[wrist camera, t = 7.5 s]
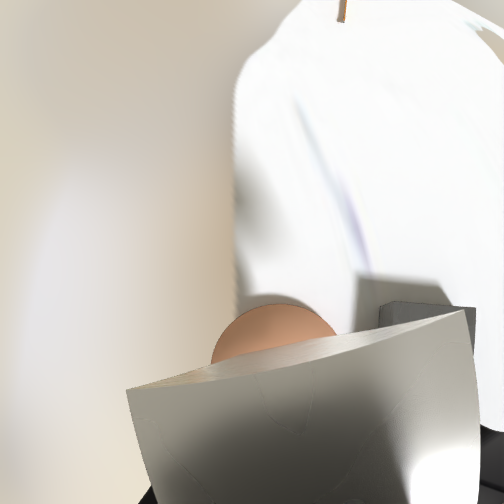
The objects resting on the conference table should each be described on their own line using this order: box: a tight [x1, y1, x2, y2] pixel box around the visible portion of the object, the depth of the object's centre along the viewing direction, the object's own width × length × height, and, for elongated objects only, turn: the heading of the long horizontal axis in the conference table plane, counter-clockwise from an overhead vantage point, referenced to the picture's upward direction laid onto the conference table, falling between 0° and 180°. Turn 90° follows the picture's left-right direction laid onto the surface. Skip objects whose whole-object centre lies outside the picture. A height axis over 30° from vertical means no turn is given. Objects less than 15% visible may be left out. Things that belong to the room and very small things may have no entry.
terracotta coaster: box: [211, 304, 337, 364], centre depth 21 cm, size 10×10×1 cm
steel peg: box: [126, 309, 480, 504], centre depth 9 cm, size 4×4×14 cm
